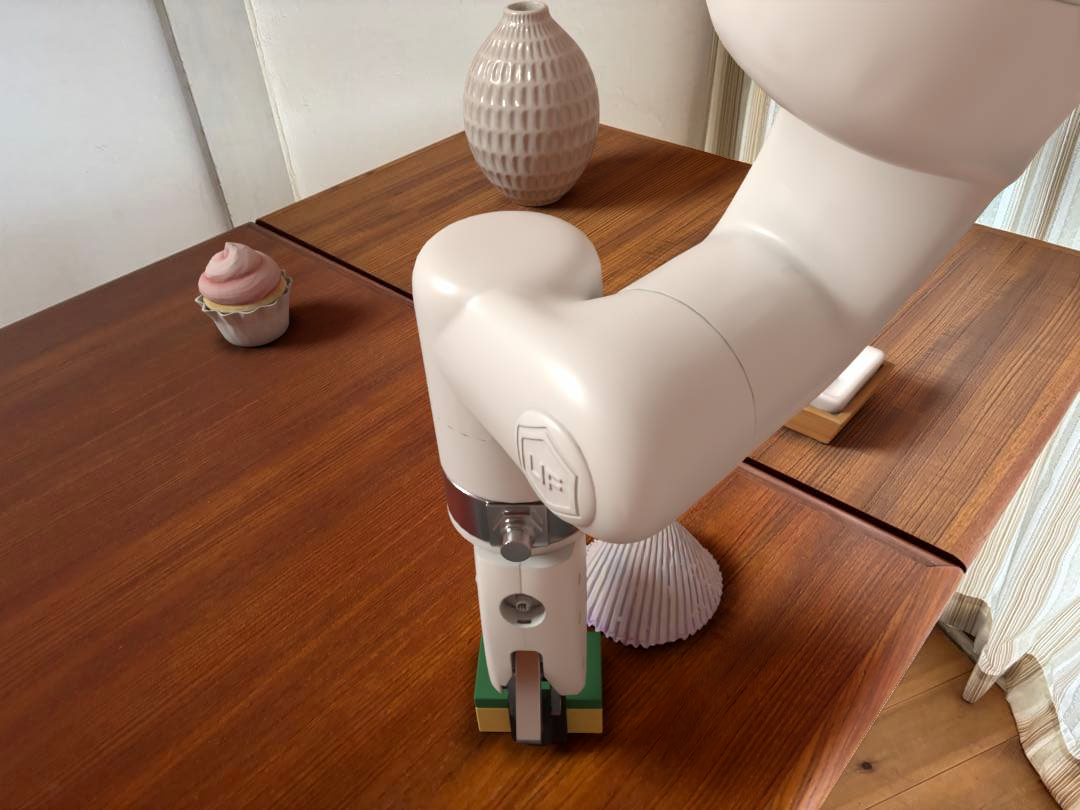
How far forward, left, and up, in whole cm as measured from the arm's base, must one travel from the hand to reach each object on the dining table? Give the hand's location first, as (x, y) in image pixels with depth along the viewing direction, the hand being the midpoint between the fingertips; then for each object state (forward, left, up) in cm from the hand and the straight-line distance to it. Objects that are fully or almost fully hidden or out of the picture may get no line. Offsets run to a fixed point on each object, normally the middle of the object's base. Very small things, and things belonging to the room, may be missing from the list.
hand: (541, 694), depth 51 cm
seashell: (+2, -11, -1) cm, 11 cm away
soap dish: (+9, -34, -1) cm, 35 cm away
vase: (+57, -43, -1) cm, 71 cm away
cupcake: (+51, -3, -1) cm, 51 cm away
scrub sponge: (0, 0, 0) cm, 0 cm away
